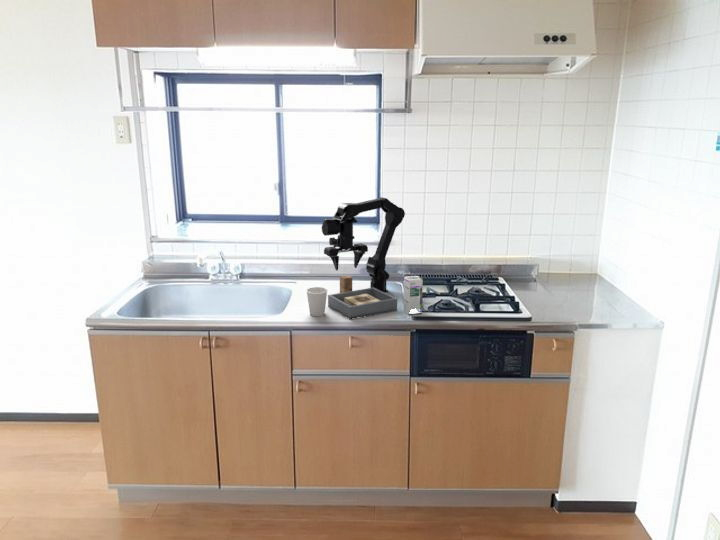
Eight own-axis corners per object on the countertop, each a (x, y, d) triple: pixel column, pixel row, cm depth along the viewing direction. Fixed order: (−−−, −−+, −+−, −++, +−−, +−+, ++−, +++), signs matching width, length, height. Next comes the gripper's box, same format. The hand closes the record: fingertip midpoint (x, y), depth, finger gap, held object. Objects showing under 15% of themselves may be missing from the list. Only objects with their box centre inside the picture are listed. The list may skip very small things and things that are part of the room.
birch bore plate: (366, 300, 226) (366, 293, 225) (380, 307, 217) (381, 300, 216) (343, 304, 221) (343, 297, 220) (357, 312, 211) (357, 305, 211)
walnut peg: (347, 294, 237) (347, 275, 234) (352, 297, 233) (352, 277, 231) (339, 296, 235) (339, 276, 232) (344, 298, 231) (344, 278, 229)
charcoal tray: (373, 298, 232) (373, 287, 231) (396, 310, 217) (397, 298, 216) (328, 306, 221) (328, 295, 220) (349, 319, 206) (349, 307, 205)
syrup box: (408, 315, 211) (409, 280, 208) (403, 310, 217) (404, 276, 213) (421, 314, 213) (423, 278, 209) (416, 309, 218) (417, 275, 215)
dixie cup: (309, 310, 217) (309, 286, 214) (329, 311, 215) (329, 287, 213) (304, 317, 209) (303, 292, 206) (325, 318, 207) (325, 293, 205)
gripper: (355, 228, 238) (355, 262, 242) (317, 232, 229) (318, 267, 233) (368, 232, 229) (368, 268, 233) (330, 236, 220) (330, 273, 224)
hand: (346, 269), depth 231 cm, fingers open, 9 cm apart
